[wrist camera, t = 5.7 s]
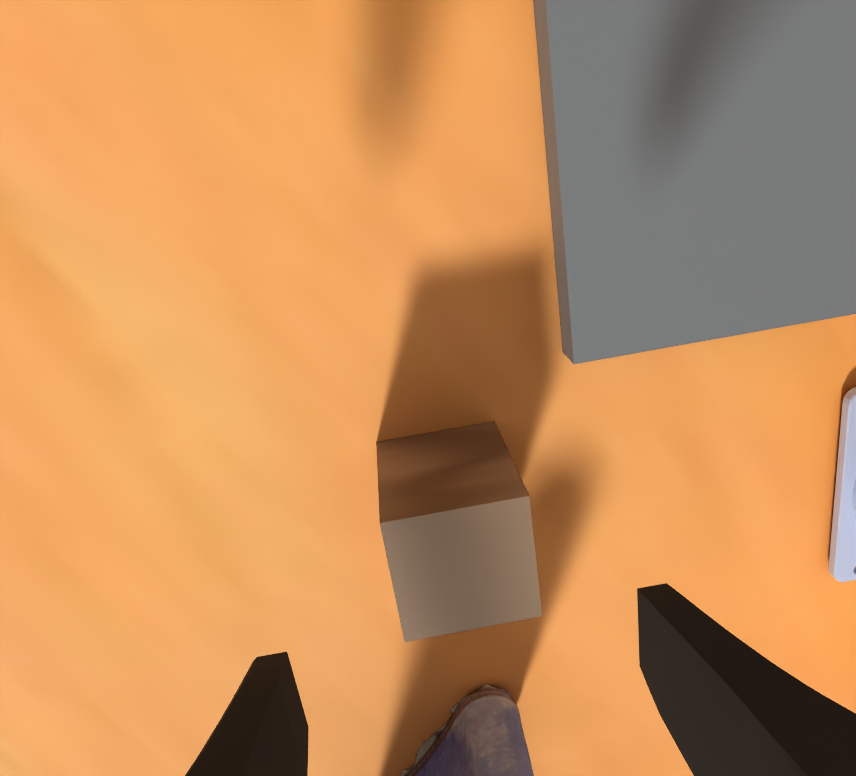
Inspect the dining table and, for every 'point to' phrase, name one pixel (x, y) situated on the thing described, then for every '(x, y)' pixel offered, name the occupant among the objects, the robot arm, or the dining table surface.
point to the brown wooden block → (456, 531)
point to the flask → (477, 740)
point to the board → (698, 167)
